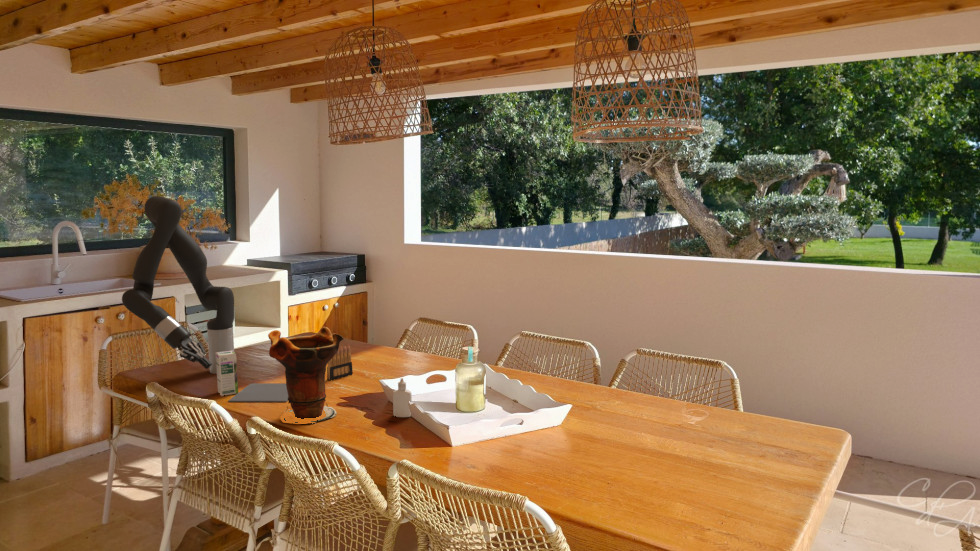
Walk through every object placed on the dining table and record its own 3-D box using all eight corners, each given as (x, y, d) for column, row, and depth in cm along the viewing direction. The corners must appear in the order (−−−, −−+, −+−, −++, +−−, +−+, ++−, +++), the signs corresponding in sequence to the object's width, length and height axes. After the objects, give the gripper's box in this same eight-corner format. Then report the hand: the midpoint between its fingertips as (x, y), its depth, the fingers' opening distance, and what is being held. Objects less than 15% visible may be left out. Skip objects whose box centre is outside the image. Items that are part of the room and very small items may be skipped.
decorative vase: (360, 412, 213) (353, 326, 209) (293, 434, 198) (284, 342, 193) (325, 398, 228) (318, 317, 224) (261, 418, 213) (252, 331, 208)
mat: (250, 384, 246) (250, 383, 246) (303, 384, 245) (303, 383, 245) (228, 402, 226) (228, 400, 226) (286, 402, 225) (286, 400, 225)
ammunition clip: (330, 380, 250) (329, 349, 249) (327, 380, 251) (325, 348, 250) (352, 374, 258) (351, 343, 257) (349, 373, 260) (348, 343, 258)
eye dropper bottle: (400, 412, 215) (399, 375, 213) (414, 415, 212) (413, 378, 210) (391, 416, 211) (390, 378, 210) (404, 419, 208) (403, 381, 207)
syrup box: (221, 396, 232) (218, 355, 230) (217, 392, 237) (215, 351, 235) (238, 393, 235) (236, 352, 233) (234, 389, 240) (232, 349, 238)
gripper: (170, 328, 226) (208, 364, 228) (188, 320, 240) (224, 354, 241) (155, 344, 227) (193, 379, 229) (174, 335, 240) (210, 369, 242)
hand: (209, 366), depth 235 cm, fingers closed
